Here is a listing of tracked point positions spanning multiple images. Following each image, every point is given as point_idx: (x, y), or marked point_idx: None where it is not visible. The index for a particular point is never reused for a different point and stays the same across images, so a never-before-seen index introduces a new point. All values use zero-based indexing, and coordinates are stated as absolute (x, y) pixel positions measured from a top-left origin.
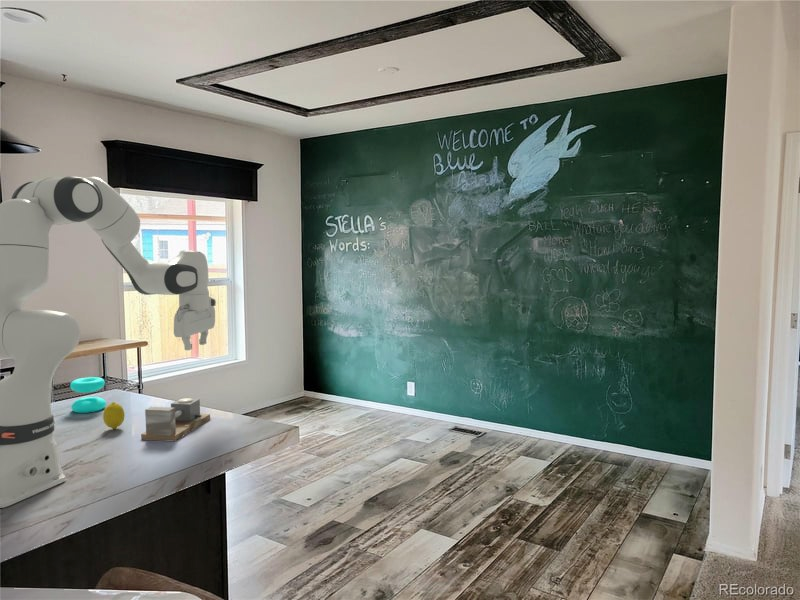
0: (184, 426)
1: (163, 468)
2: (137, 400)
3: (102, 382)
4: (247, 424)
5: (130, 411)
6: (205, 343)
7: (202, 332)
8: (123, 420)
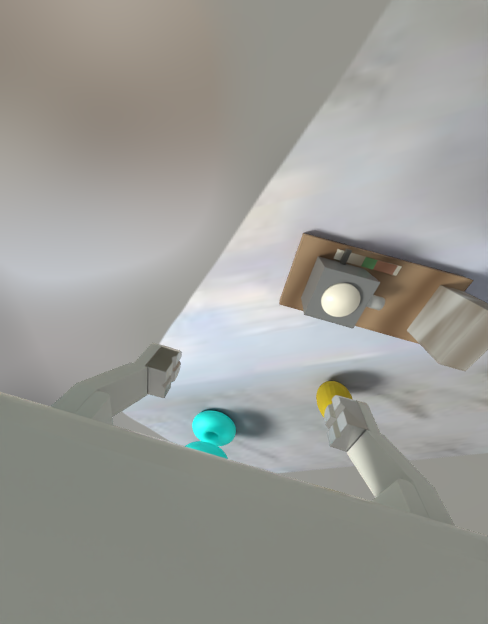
0: (398, 274)
1: None
2: None
3: (203, 451)
4: (392, 100)
5: (228, 378)
6: (164, 347)
7: (109, 422)
8: (333, 382)
